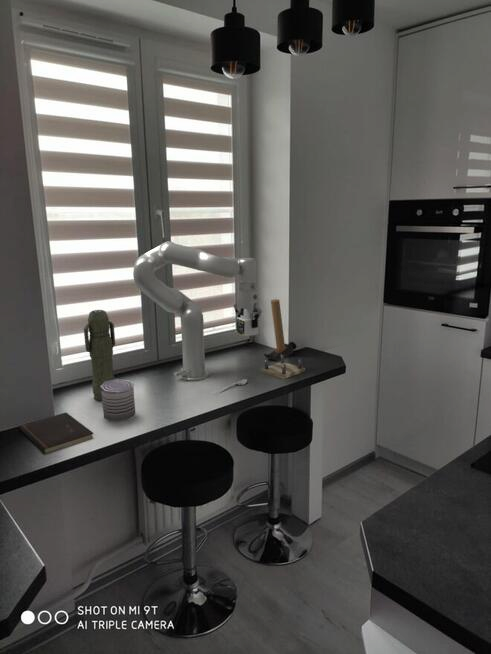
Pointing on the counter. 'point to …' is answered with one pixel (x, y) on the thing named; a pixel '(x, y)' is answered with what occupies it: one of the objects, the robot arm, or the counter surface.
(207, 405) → the counter surface
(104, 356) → the dark green tall piece
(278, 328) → the hammer
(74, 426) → the hardcover book
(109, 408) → the can
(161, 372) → the counter surface
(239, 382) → the spoon
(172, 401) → the counter surface
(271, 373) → the peg stand
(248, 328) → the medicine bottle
